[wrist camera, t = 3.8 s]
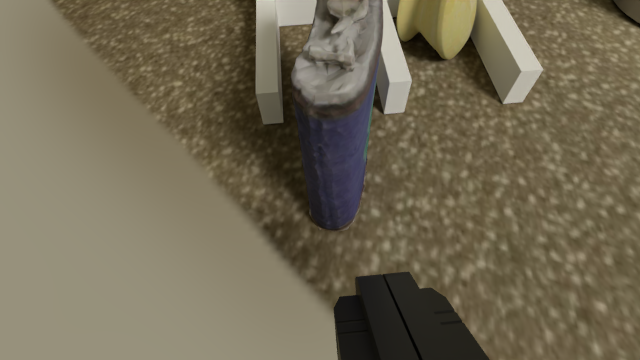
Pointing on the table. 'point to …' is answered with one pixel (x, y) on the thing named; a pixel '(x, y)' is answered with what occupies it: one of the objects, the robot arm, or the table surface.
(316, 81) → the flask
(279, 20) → the rack
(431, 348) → the robot arm
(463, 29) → the knob
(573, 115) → the table surface
